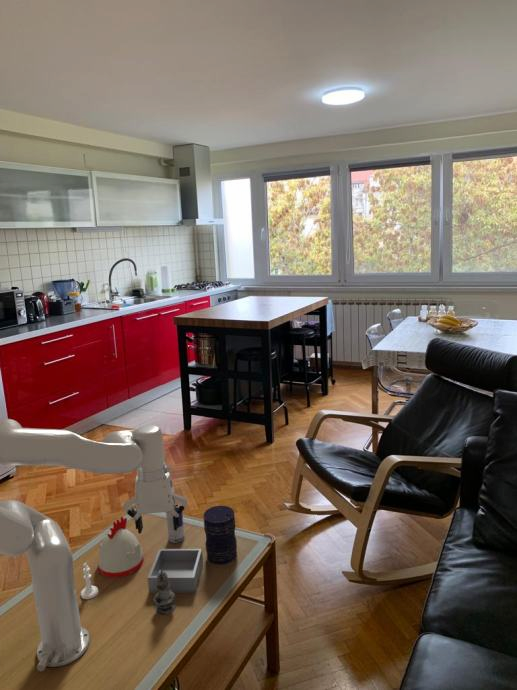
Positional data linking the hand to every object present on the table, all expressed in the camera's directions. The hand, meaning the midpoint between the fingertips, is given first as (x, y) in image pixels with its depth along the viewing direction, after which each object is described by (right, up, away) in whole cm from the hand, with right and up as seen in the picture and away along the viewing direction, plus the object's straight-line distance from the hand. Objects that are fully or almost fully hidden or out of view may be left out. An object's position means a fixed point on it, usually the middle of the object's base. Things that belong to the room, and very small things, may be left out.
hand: (158, 529), depth 142 cm
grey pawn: (+1, -23, +3) cm, 23 cm away
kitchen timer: (-16, -19, +24) cm, 35 cm away
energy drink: (-1, -16, +35) cm, 39 cm away
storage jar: (+16, -17, +25) cm, 34 cm away
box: (+3, -20, +15) cm, 25 cm away
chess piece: (-22, -23, +10) cm, 33 cm away
